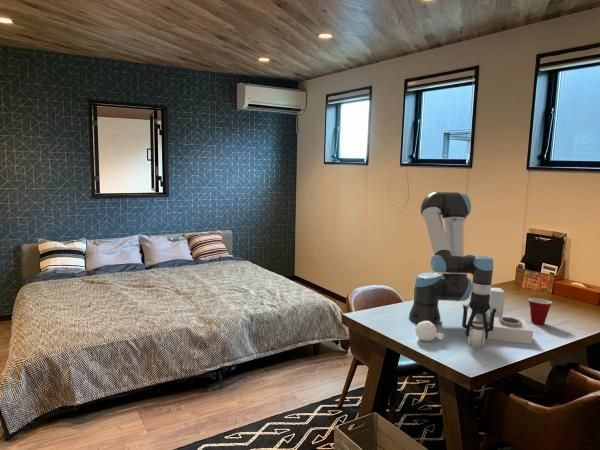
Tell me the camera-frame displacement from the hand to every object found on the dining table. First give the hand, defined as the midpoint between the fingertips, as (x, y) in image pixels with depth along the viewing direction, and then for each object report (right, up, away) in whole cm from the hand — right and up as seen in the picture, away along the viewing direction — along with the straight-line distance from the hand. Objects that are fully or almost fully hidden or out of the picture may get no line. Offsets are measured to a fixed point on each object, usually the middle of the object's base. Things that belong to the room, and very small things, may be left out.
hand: (475, 344), depth 195 cm
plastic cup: (+44, +2, +32) cm, 54 cm away
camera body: (+17, +1, +13) cm, 21 cm away
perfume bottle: (-20, +1, +2) cm, 20 cm away
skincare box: (+23, +4, +35) cm, 42 cm away
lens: (0, 0, 0) cm, 0 cm away
